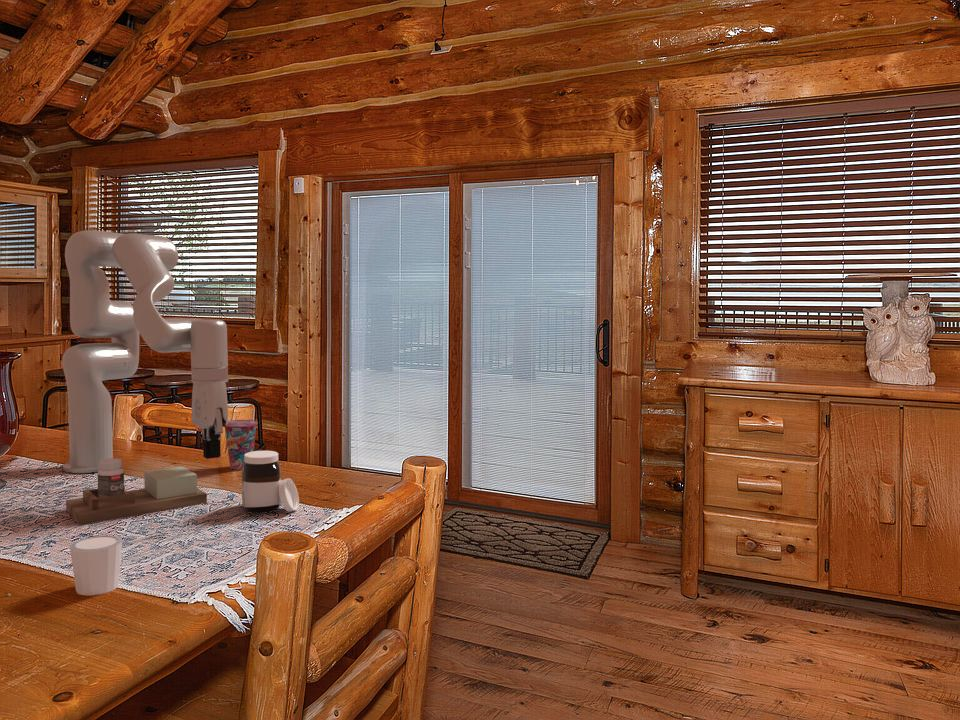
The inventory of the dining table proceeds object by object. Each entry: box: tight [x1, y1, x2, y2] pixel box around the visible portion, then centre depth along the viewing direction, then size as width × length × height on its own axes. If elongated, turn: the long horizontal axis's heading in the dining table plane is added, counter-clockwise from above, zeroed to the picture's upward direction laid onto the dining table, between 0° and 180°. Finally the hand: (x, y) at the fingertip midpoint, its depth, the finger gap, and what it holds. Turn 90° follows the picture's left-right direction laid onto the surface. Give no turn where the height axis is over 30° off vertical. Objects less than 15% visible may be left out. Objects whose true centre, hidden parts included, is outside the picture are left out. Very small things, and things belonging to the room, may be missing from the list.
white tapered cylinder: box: [69, 534, 123, 596], centre depth 102 cm, size 7×7×7 cm
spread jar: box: [241, 450, 300, 514], centre depth 142 cm, size 12×11×12 cm
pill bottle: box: [97, 457, 125, 498], centre depth 138 cm, size 5×5×8 cm
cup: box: [224, 419, 259, 471], centre depth 175 cm, size 9×8×12 cm
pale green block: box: [143, 466, 198, 499], centre depth 146 cm, size 9×8×4 cm
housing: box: [65, 486, 208, 526], centre depth 142 cm, size 12×24×4 cm, turn 132°
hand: (212, 457), depth 151 cm, fingers closed
